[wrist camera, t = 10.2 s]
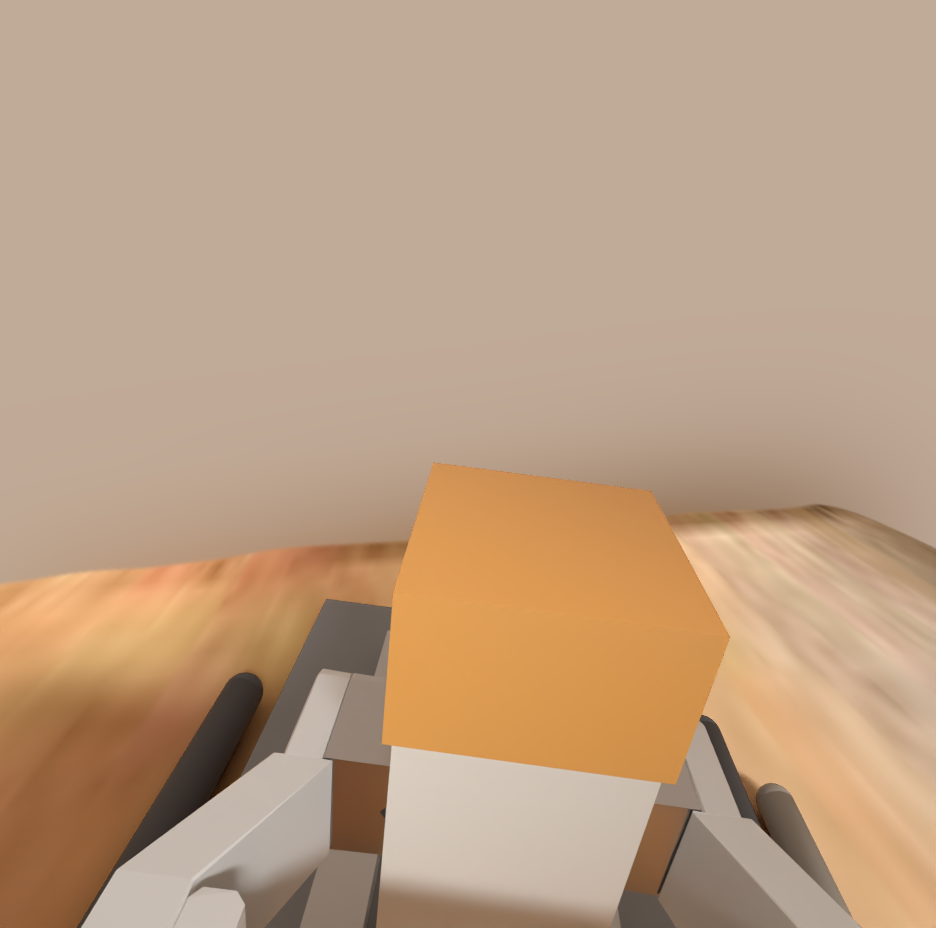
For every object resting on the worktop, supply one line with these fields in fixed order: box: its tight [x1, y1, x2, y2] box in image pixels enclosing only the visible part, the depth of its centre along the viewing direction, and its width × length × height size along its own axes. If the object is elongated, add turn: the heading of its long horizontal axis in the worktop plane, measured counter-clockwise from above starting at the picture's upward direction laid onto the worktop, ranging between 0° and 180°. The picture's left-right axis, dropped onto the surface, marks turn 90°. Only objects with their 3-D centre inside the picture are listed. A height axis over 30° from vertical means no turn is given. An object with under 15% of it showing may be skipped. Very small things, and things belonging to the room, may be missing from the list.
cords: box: [77, 673, 852, 928], centre depth 16 cm, size 16×21×1 cm
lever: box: [376, 463, 730, 928], centre depth 9 cm, size 3×3×10 cm
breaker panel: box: [240, 599, 676, 928], centre depth 15 cm, size 16×12×5 cm
